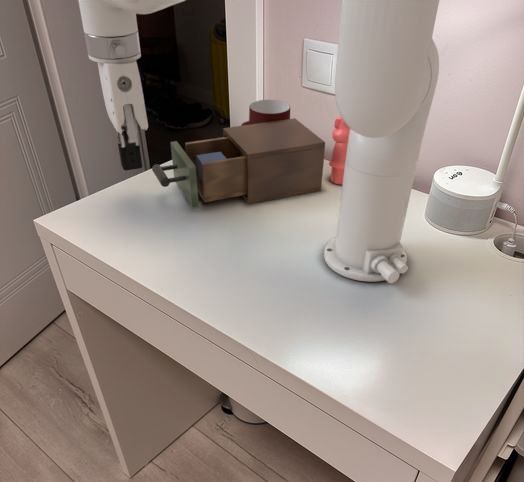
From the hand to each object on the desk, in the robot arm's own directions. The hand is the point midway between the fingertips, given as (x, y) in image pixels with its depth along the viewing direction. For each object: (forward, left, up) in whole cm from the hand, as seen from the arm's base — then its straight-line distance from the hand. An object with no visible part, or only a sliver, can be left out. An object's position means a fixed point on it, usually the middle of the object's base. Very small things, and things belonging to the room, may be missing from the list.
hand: (132, 167), depth 90 cm
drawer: (0, -13, -6) cm, 14 cm away
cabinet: (0, -26, -7) cm, 27 cm away
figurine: (-4, -39, -7) cm, 40 cm away
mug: (+11, -29, -7) cm, 32 cm away
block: (0, -14, -5) cm, 15 cm away
